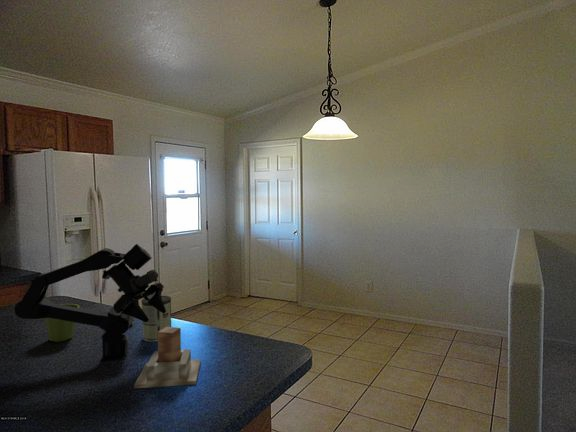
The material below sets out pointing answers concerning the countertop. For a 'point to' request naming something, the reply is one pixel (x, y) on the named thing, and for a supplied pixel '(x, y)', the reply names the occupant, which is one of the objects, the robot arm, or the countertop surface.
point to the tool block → (169, 372)
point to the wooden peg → (169, 345)
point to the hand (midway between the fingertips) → (156, 316)
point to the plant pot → (60, 328)
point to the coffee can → (155, 319)
